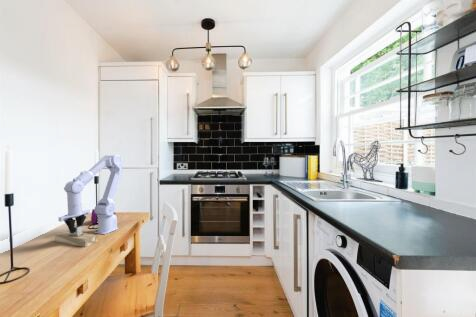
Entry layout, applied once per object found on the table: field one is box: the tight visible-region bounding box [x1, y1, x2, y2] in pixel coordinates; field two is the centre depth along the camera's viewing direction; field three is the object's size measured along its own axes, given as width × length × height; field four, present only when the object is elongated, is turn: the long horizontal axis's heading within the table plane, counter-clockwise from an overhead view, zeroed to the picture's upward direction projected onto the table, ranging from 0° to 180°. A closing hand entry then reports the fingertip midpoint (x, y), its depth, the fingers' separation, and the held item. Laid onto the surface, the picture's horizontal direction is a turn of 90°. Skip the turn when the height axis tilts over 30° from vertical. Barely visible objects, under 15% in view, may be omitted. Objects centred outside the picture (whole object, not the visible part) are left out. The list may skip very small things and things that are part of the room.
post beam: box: [54, 230, 99, 248], centre depth 118 cm, size 6×22×4 cm, turn 69°
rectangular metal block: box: [68, 224, 83, 237], centre depth 118 cm, size 2×6×8 cm, turn 70°
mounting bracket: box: [90, 208, 116, 225], centre depth 155 cm, size 9×8×18 cm
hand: (75, 231), depth 118 cm, fingers open, 3 cm apart
